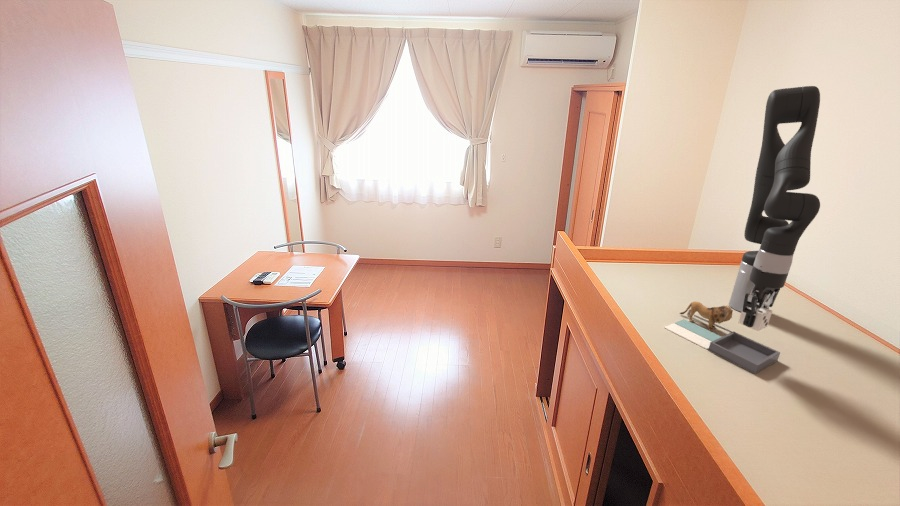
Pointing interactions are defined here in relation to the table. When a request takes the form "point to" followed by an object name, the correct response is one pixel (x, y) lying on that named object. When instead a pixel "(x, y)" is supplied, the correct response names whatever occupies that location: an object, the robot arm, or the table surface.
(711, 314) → the lion figurine
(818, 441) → the table surface
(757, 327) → the die
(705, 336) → the track
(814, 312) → the table surface
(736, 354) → the dice tray
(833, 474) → the table surface
